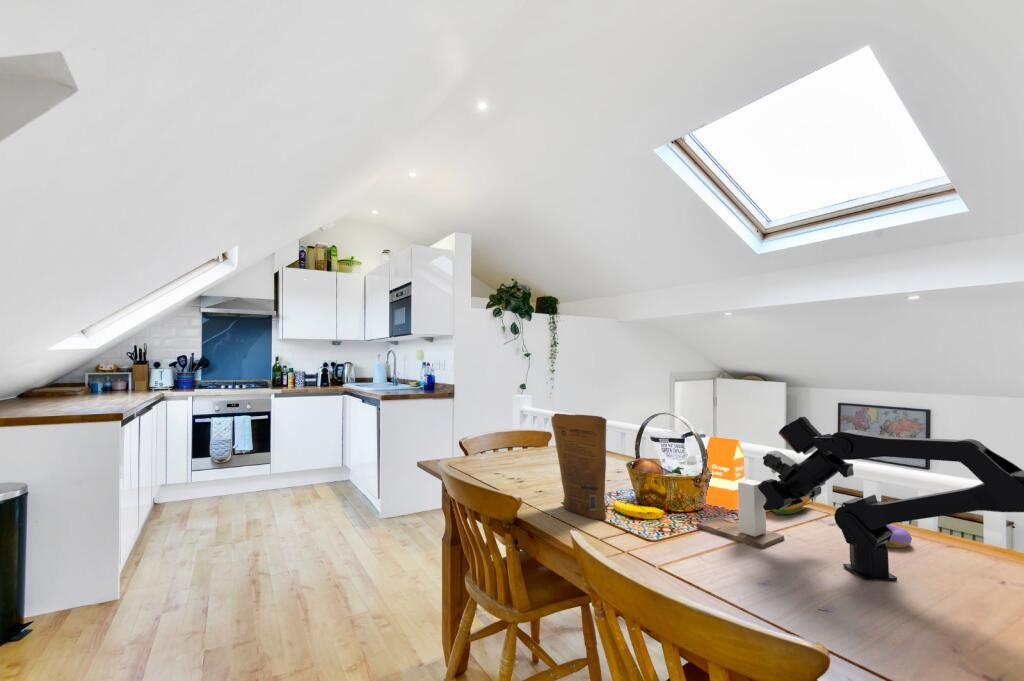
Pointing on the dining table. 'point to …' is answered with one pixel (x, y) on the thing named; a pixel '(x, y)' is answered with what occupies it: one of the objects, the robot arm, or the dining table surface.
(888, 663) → the dining table surface
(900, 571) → the dining table surface
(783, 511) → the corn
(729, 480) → the orange juice
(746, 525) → the white tall block
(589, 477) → the pancake mix bag
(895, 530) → the donut
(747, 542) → the brown flat wooden board
